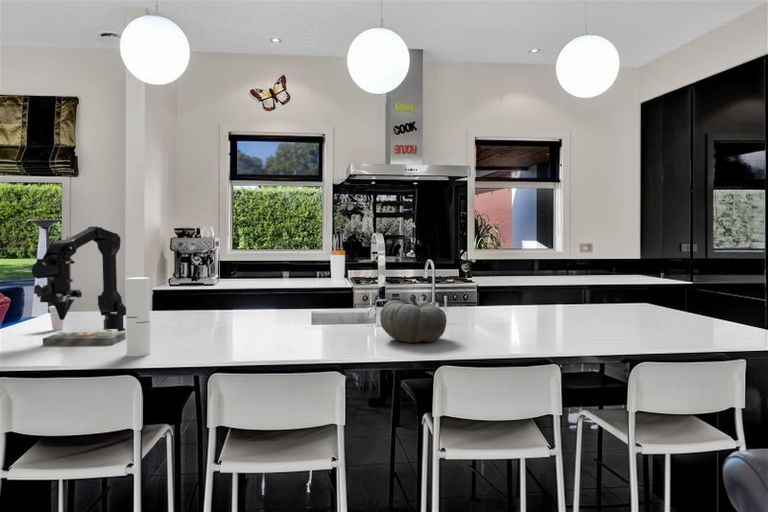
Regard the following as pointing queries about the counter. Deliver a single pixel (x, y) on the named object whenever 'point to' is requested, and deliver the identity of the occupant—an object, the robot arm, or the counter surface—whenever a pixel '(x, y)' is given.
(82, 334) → the tile one
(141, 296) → the cylindrical container
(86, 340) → the tile board
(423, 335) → the gourd
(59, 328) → the smoothie
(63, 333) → the tile two
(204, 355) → the counter surface
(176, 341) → the counter surface
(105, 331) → the tile three
